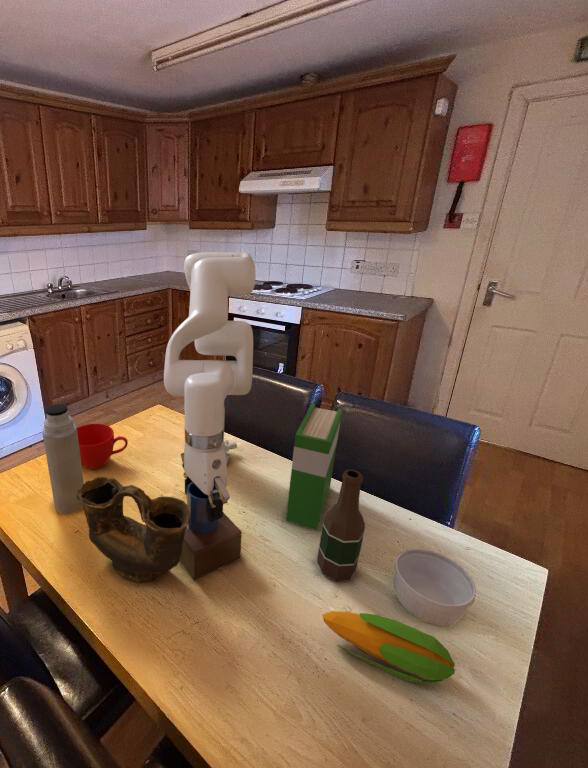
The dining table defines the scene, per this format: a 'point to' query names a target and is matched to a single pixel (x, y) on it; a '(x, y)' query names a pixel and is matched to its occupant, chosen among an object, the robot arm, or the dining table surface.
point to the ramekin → (432, 586)
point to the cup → (200, 510)
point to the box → (211, 557)
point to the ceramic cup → (97, 444)
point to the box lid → (211, 536)
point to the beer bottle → (342, 531)
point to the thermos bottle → (63, 458)
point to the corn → (394, 645)
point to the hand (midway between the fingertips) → (203, 505)
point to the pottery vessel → (134, 528)
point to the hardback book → (312, 466)
